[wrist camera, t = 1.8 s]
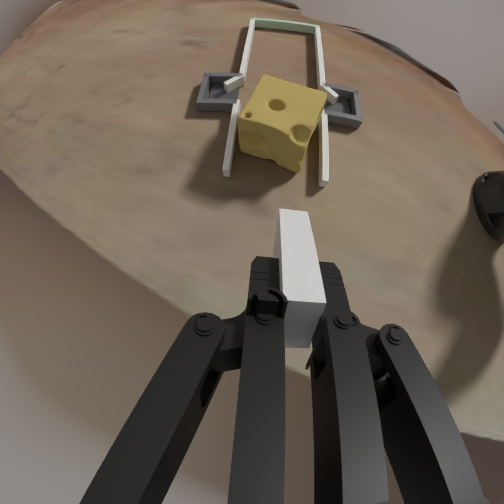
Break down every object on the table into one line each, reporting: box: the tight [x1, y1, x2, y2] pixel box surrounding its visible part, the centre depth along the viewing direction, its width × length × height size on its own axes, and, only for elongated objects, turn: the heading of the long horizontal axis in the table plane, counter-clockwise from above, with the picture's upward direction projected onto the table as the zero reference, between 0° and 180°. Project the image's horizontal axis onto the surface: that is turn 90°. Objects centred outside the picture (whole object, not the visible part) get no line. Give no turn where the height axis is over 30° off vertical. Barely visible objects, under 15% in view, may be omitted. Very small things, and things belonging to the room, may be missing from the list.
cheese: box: [238, 74, 327, 173], centre depth 38 cm, size 10×11×10 cm
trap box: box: [196, 18, 362, 187], centre depth 44 cm, size 29×43×2 cm
